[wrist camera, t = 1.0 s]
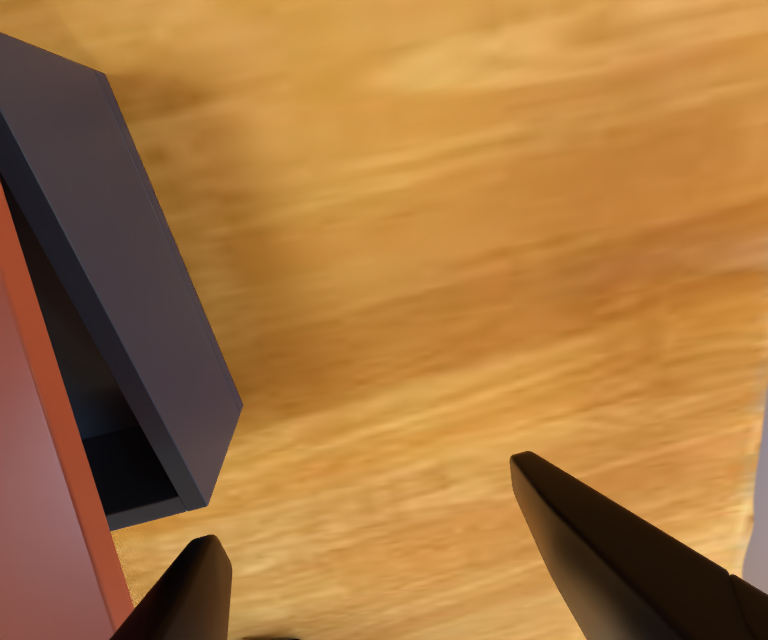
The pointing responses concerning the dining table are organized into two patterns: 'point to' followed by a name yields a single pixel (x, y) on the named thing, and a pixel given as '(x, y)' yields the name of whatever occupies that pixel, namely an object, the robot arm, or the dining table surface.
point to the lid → (46, 484)
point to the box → (112, 291)
